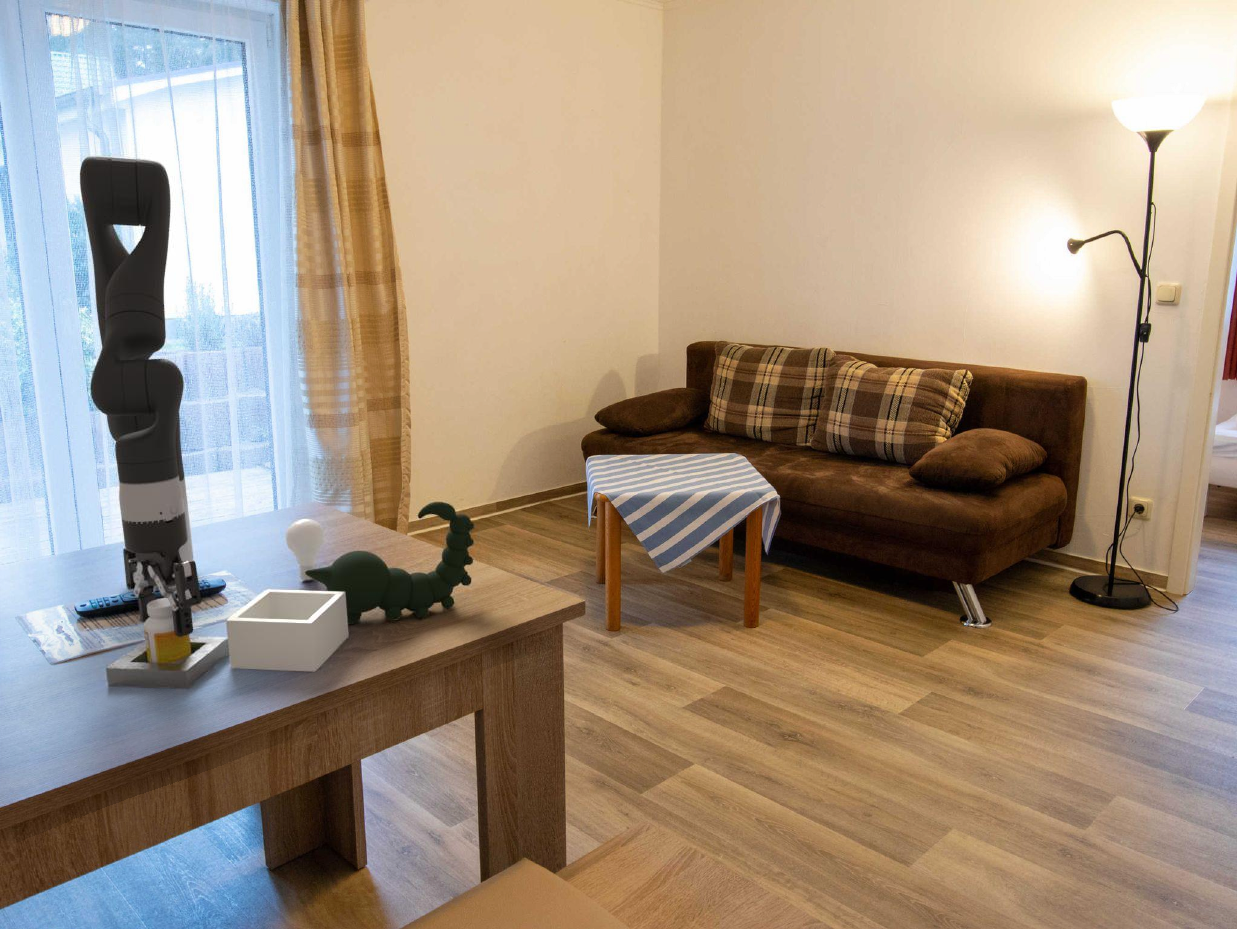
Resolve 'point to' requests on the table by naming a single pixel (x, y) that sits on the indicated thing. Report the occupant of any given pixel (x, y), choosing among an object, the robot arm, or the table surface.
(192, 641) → the socket collar
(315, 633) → the bin
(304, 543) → the lightbulb
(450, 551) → the toy figurine
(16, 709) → the table surface
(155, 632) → the supplement bottle
